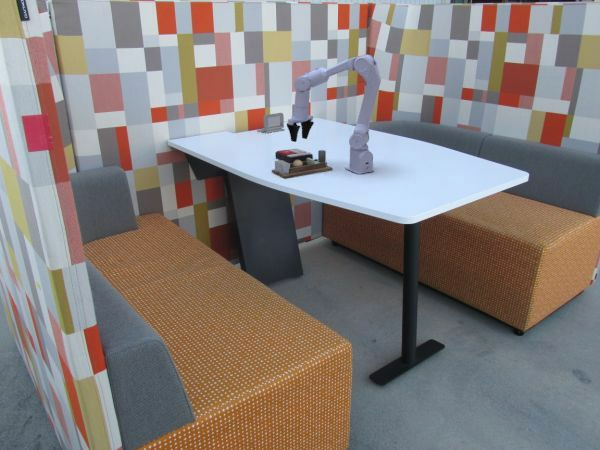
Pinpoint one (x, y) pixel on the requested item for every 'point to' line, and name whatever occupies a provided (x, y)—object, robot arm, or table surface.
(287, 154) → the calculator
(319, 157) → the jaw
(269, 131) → the handheld gaming console
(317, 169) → the base
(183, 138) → the table surface
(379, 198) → the table surface
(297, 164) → the ball
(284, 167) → the anvil
